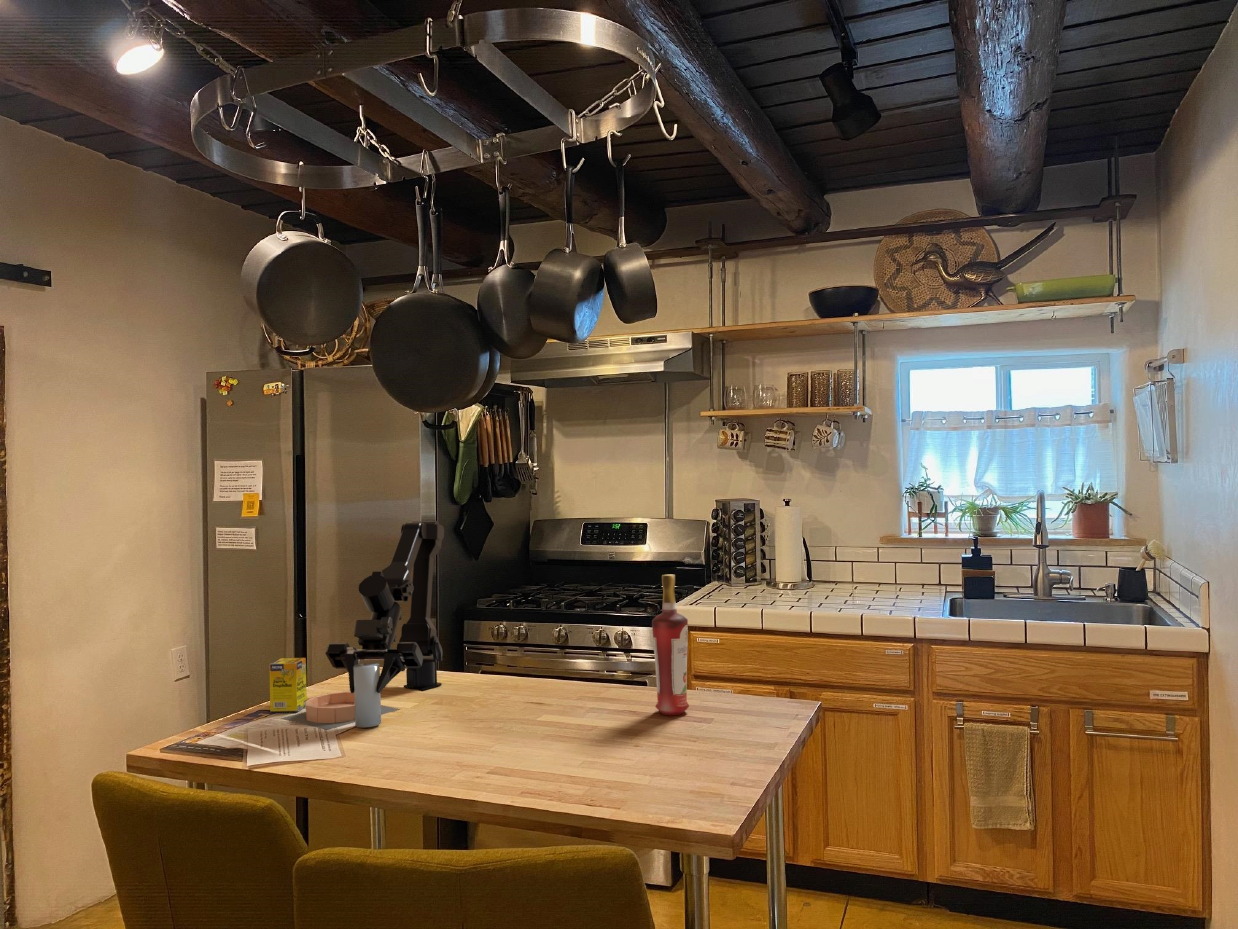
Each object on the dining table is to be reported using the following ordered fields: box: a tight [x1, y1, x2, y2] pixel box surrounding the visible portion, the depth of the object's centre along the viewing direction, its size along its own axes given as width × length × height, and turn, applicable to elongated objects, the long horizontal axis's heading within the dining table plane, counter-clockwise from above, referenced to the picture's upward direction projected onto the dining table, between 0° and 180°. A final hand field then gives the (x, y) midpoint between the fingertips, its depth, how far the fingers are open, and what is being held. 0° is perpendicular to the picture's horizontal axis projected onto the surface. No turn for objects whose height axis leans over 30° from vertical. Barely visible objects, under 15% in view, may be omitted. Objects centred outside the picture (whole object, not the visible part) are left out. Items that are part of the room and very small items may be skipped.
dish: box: [304, 690, 355, 723], centre depth 190 cm, size 14×14×3 cm
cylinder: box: [353, 662, 382, 728], centre depth 180 cm, size 5×5×12 cm
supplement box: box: [268, 657, 308, 715], centre depth 195 cm, size 6×6×11 cm
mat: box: [280, 704, 401, 731], centre depth 190 cm, size 18×16×1 cm
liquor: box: [651, 574, 690, 717], centre depth 185 cm, size 7×7×28 cm
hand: (364, 692), depth 179 cm, fingers closed on cylinder, 5 cm apart
